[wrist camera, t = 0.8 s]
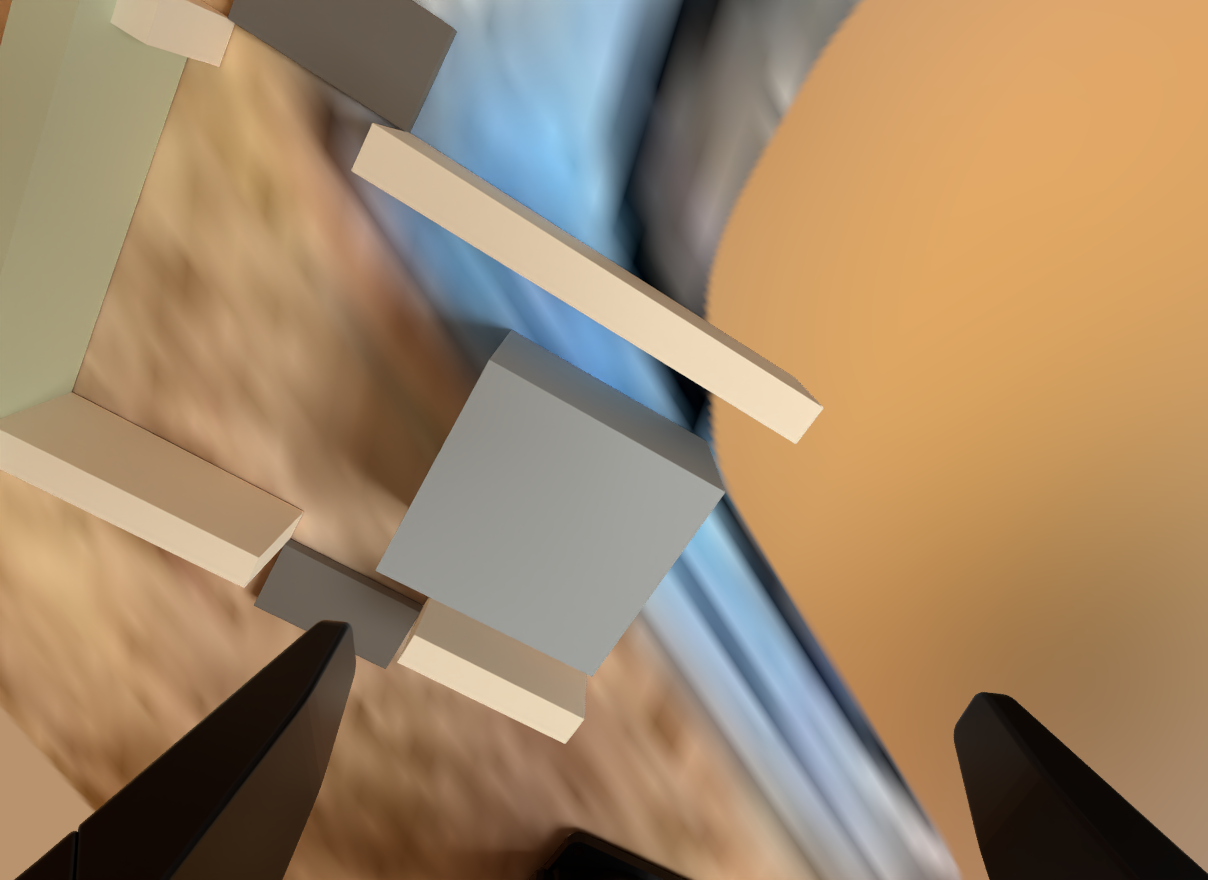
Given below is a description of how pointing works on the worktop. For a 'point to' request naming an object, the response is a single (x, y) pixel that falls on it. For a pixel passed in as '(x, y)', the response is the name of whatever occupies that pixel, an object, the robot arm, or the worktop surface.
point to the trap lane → (265, 523)
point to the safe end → (68, 179)
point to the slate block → (553, 507)
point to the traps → (397, 93)
